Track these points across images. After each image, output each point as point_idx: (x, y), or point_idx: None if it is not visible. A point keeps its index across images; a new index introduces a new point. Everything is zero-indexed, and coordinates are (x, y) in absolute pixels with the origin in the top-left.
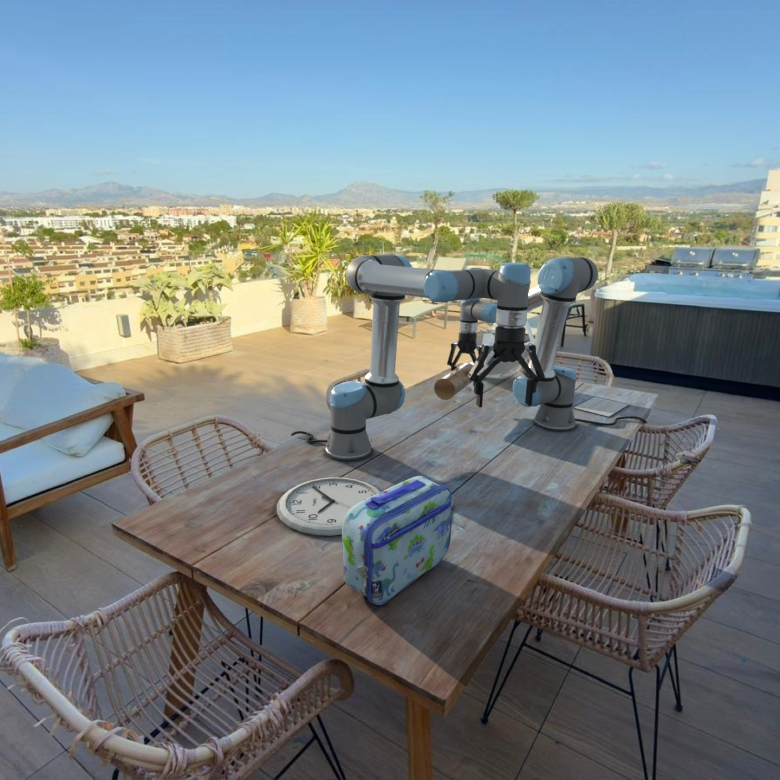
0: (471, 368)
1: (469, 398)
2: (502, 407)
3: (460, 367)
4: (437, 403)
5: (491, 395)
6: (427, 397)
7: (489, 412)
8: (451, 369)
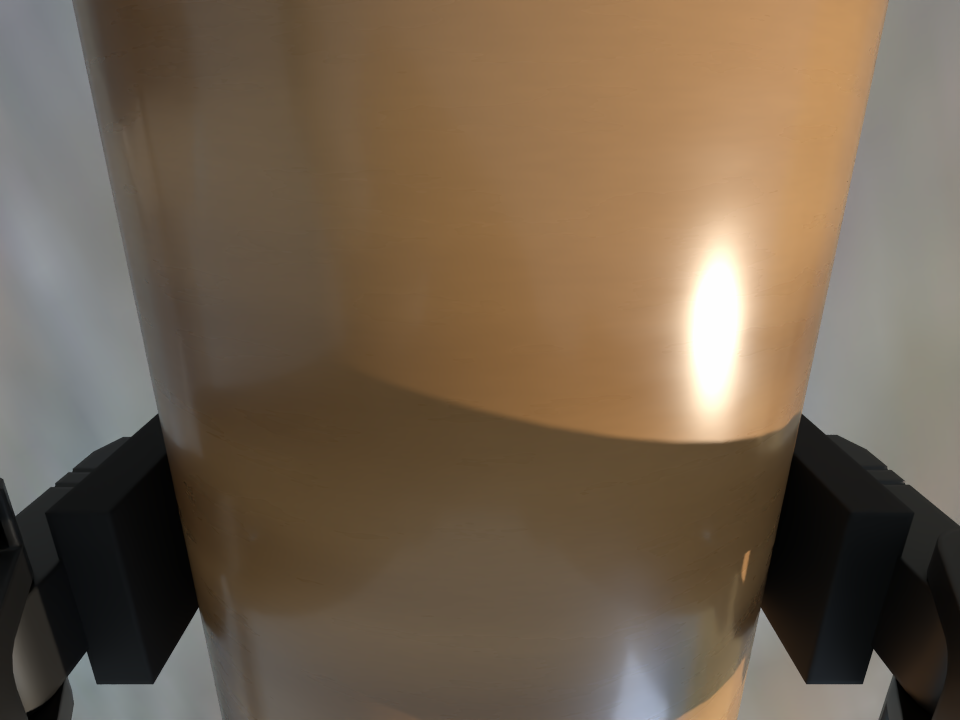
0: (222, 601)
1: None
2: (37, 361)
3: (541, 148)
4: None
5: None
6: (934, 268)
7: (56, 104)
8: (916, 505)
